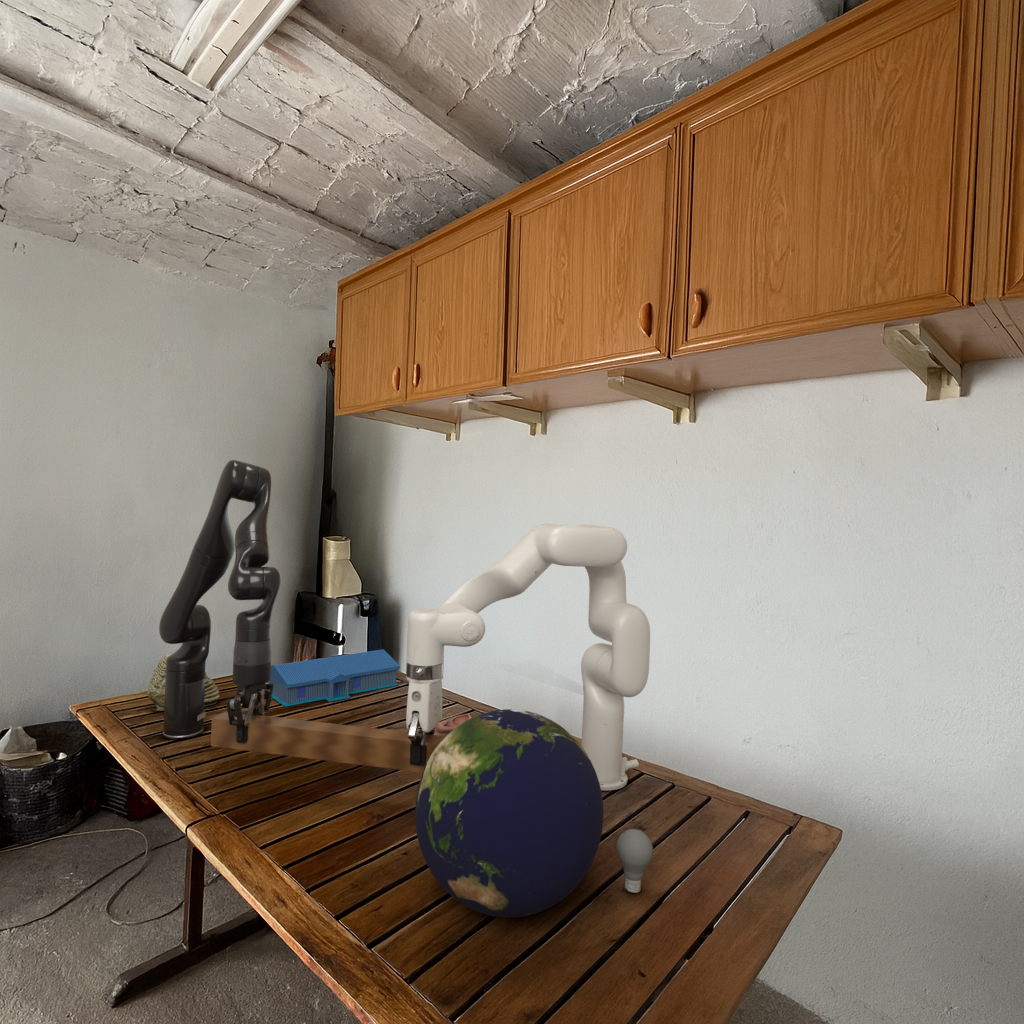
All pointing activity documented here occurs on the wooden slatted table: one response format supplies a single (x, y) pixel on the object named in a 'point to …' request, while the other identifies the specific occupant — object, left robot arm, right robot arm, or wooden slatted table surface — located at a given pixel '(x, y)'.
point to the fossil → (158, 687)
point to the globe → (509, 813)
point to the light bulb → (634, 857)
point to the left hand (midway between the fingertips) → (249, 737)
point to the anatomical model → (450, 724)
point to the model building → (332, 677)
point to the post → (322, 741)
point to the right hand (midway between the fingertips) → (422, 758)
